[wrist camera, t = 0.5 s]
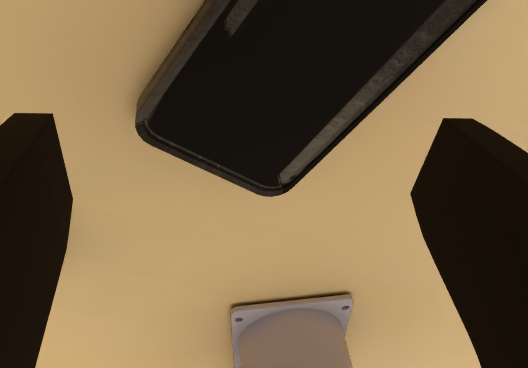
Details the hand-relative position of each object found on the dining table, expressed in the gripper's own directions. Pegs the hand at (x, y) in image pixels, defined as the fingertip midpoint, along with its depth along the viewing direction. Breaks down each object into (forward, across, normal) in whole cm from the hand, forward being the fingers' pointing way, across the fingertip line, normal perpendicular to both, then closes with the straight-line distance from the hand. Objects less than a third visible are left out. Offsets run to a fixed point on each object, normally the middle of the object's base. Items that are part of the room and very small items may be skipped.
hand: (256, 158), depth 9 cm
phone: (+10, -4, +2) cm, 11 cm away
